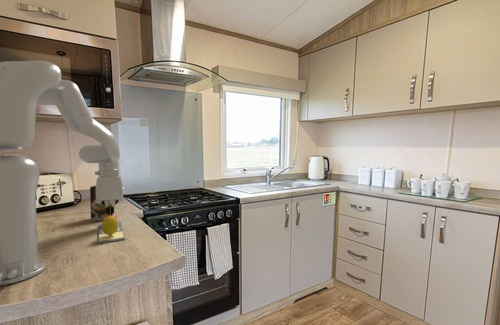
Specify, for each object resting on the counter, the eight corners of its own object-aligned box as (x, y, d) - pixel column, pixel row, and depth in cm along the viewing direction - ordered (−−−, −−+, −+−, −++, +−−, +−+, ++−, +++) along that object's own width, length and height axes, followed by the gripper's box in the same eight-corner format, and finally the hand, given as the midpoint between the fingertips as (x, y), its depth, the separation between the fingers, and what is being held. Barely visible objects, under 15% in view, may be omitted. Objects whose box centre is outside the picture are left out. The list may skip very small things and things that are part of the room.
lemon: (111, 239, 91) (110, 217, 91) (98, 238, 92) (97, 216, 92) (122, 234, 96) (121, 213, 96) (109, 233, 98) (108, 213, 97)
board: (124, 239, 92) (124, 233, 92) (98, 244, 88) (97, 237, 88) (120, 222, 115) (120, 217, 115) (99, 225, 111) (99, 220, 110)
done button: (117, 219, 109) (116, 216, 109) (103, 221, 106) (103, 217, 106) (116, 216, 113) (116, 213, 113) (103, 218, 110) (103, 215, 110)
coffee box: (90, 221, 117) (89, 187, 117) (94, 217, 124) (93, 185, 123) (111, 219, 120) (110, 186, 119) (115, 216, 126) (114, 184, 125)
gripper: (88, 175, 102) (89, 219, 103) (128, 173, 109) (130, 215, 110) (89, 173, 108) (90, 215, 109) (127, 172, 116) (128, 211, 117)
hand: (110, 215), depth 110 cm, fingers closed
